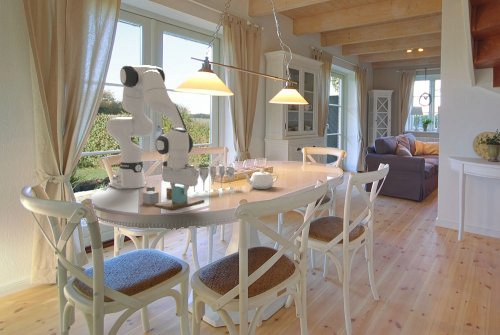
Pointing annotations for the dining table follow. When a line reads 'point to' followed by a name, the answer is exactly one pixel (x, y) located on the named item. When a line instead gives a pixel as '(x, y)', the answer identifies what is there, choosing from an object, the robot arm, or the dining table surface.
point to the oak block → (169, 192)
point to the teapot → (261, 179)
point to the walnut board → (174, 206)
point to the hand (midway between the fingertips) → (179, 193)
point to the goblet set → (205, 171)
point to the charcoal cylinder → (150, 189)
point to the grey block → (150, 197)
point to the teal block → (178, 194)
